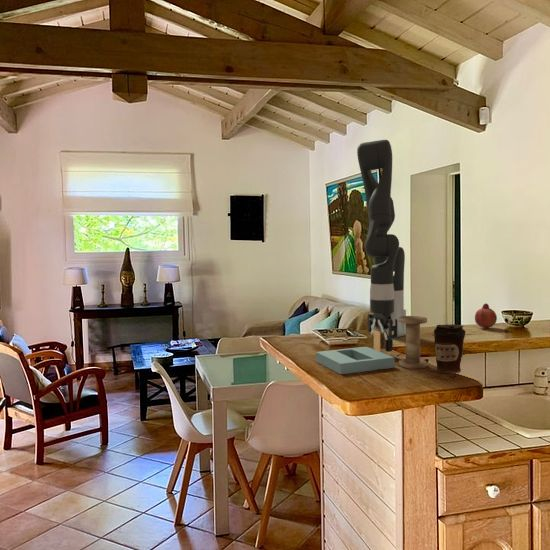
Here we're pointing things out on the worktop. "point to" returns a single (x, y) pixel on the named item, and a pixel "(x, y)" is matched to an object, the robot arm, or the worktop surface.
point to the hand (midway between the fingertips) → (382, 348)
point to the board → (354, 360)
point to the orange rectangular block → (380, 342)
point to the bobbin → (413, 342)
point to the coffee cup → (449, 347)
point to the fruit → (485, 317)
